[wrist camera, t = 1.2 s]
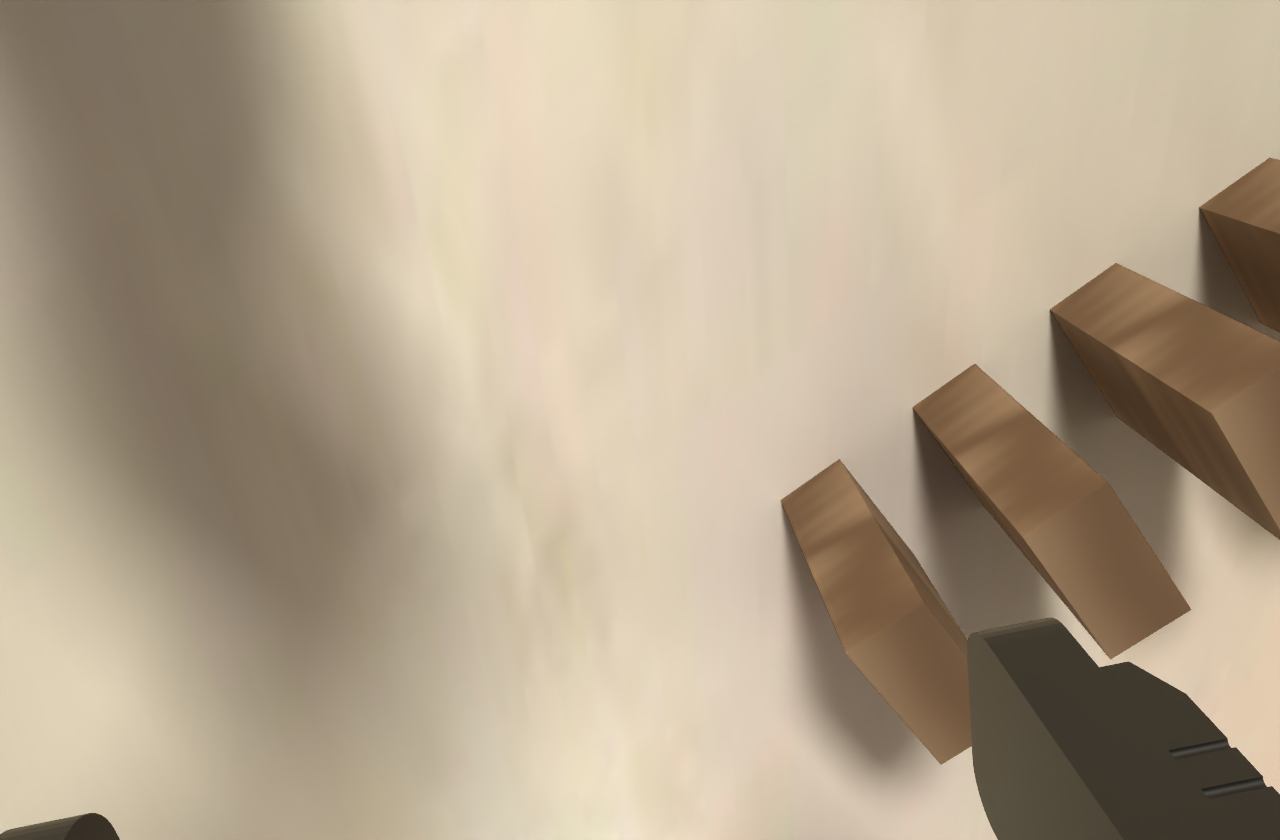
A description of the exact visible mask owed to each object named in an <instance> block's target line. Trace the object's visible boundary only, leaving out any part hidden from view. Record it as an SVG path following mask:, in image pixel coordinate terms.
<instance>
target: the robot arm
mask: <svg viewBox="0 0 1280 840" xmlns="http://www.w3.org/2000/svg"><path fill="white" fill-rule="evenodd" d="M967 663H968V682H969V700H970V718H971V737H972V755H973V766H974V773H975V778H976V783H977V786H978V790H979V794H980V797H981V801H982V804H983V807H984V810H985V812H986V815H987V817H988V820H989V822H990V825H991V827H992V829H993V831H994V833H995V835H996V837H997V839H998V840H1280V794H1279V793H1278V792H1277V791H1276V790H1275V789H1274V788H1273V787H1272V786H1271V787H1267V786H1266V785H1265V783H1264V781H1263V776H1262V775H1261V774H1260V773H1259V772H1258V771H1257V770H1256V769H1255V768H1254V766H1253V765H1252V764H1251V763H1250V762H1249V761H1248V760H1247V759H1246V758H1245V757H1244V756H1243V755H1242V754H1241V752H1240V751H1239V750H1238V749H1237V748H1236V747H1235V748H1231V747H1230V746H1229V744H1228V740H1227V737H1226V736H1225V735H1224V734H1223V733H1222V732H1221V731H1220V730H1219V729H1218V728H1217V727H1216V726H1215V725H1214V723H1213V722H1212V721H1211V720H1210V719H1209V718H1208V717H1207V716H1206V715H1205V714H1204V713H1203V712H1202V711H1201V710H1200V708H1199V707H1198V706H1197V705H1196V704H1195V703H1194V702H1193V701H1192V700H1191V699H1190V698H1189V697H1188V696H1187V694H1185V693H1183V692H1182V691H1180V690H1178V689H1176V688H1175V687H1173V686H1171V685H1169V684H1168V683H1166V682H1164V681H1162V680H1160V679H1159V678H1157V677H1155V676H1153V675H1152V674H1150V673H1148V672H1146V671H1145V670H1143V669H1141V668H1139V667H1138V666H1136V665H1134V664H1132V663H1130V662H1124V663H1119V664H1114V665H1109V666H1104V667H1098V666H1097V664H1096V663H1095V662H1094V661H1093V660H1092V658H1091V657H1090V656H1089V655H1088V654H1087V653H1086V651H1085V650H1084V649H1083V648H1082V647H1081V645H1080V644H1079V643H1078V642H1077V641H1076V639H1075V638H1074V637H1073V636H1072V635H1071V633H1070V632H1069V631H1068V630H1067V629H1066V627H1065V626H1064V625H1063V624H1062V623H1061V622H1059V621H1058V620H1057V619H1054V618H1045V619H1040V620H1035V621H1030V622H1025V623H1020V624H1015V625H1010V626H1005V627H1000V628H995V629H990V630H985V631H980V632H975V633H972V634H971V635H970V637H969V639H968V644H967ZM0 840H120V839H119V837H118V835H117V833H116V831H115V830H114V828H113V826H112V825H111V823H110V822H109V821H108V820H107V819H106V818H105V817H103V816H102V815H99V814H97V813H89V814H84V815H79V816H74V817H69V818H64V819H59V820H54V821H49V822H44V823H39V824H34V825H29V826H24V827H19V828H14V829H10V830H7V831H5V832H3V833H2V834H0Z"/></svg>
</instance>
